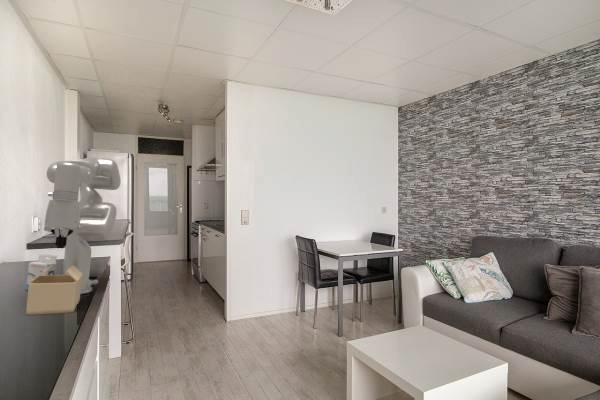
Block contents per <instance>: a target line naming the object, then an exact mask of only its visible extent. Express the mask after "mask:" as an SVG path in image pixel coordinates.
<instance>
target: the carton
mask: <svg viewBox="0 0 600 400" xmlns="http://www.w3.org/2000/svg"><path fill="white" fill-rule="evenodd" d="M81 281H82V276H81V277H80V279H79V280H78V281H77V282H76V281H75V280H74V279H73V278H72V277H71V276H70V275H63V274H55V275H40V276H39V277H38V278H36V279H35V280H34V281H32V282H31V283H30V284H29V289H28V291H27V300H26V301H27V302H26V311H25V316H31V315H47V314H48V315H49V314H50V315H51V314H65V313H66V314H69V313H74V312H75V310H76V309H77V307H76V306H78V305H79V303H80V301H81V294H80V292H81ZM77 304H78V305H77Z"/></svg>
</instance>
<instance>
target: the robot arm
mask: <svg viewBox="0 0 600 400" xmlns="http://www.w3.org/2000/svg"><path fill="white" fill-rule="evenodd" d="M46 177H47V180H48V181H49V182H50V183H52V184H54V185H53V191H52V192H48V193H47V196H48V197H51V199H49V201H48V203H47V204H48V205H47V208H46V212H45V213H46V214H45V219H44V228H43V231H44V232H49V233H51V234H53V235H54V236H55V246H56V248H57V249H64V258H63V265H62V275H68V274H67V273H66V271H67V270H68V269H69V268H70V267H71V266H72V265H74V266H75V267H76V268H77V269H78V270H79V271H80V272H81V273H82V274H83V275H82V281H81V292H80V295H84V294H88V293H91V292H92V291H93V287H92V285H98V284H99V280H98V279H90V272H91V271H90V269H91V260H92V248H91V246H90V245H89V243H88V242H87V241H88V240H91V241H106V240H108V239H110V237H111V235H112V233H113V229H114V225H115V223H116V218H117V207H116V206H115V204H113V203H111V202H106V201H105V202H103V198H102V196H101V194H100V193H99V192H98V191H97V190H106V191H108V190H109V191H114V190H119V188H120V186H121V182H122V181H121V173H120V171H119V166H118V164H117V162H116V161H115V160H114V159H111V158H105V157H103V158H102V157H95V156H89V157H85V158H82V159H75V160H73V159H72V160H64V161H63V160H62V161H55V162H53V163H51V164H50V165H49V166H48V168H47V170H46ZM79 192H80V193H79ZM79 195H80V197H81V198H80V200H79ZM61 229H64V231H63V235H62V233H61Z"/></svg>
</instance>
